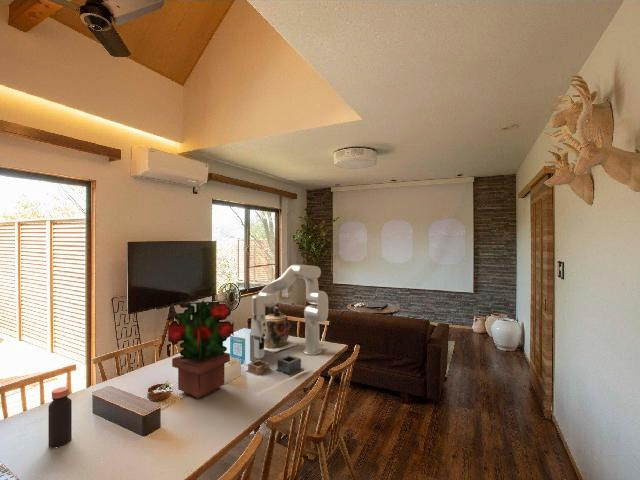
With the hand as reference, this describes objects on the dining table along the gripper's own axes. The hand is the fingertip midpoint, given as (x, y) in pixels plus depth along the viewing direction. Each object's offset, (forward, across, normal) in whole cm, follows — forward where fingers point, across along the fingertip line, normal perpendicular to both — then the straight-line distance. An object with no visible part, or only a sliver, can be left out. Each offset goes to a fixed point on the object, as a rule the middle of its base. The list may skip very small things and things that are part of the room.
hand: (259, 347), depth 184 cm
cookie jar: (+15, +27, -38) cm, 49 cm away
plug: (+5, 0, 0) cm, 5 cm away
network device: (+14, +19, -14) cm, 28 cm away
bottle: (+13, +9, +90) cm, 91 cm away
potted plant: (+14, +5, +34) cm, 37 cm away
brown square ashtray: (+14, 0, 0) cm, 14 cm away
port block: (+14, -13, -12) cm, 22 cm away
